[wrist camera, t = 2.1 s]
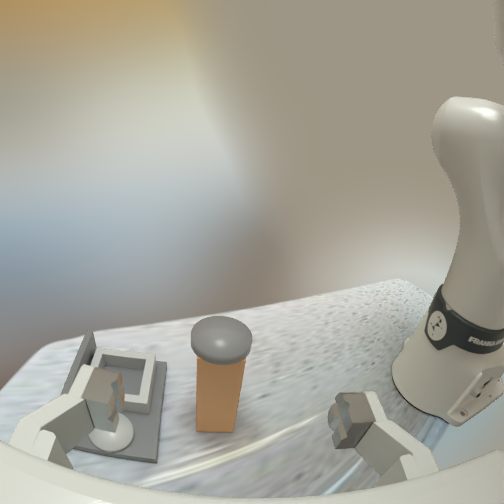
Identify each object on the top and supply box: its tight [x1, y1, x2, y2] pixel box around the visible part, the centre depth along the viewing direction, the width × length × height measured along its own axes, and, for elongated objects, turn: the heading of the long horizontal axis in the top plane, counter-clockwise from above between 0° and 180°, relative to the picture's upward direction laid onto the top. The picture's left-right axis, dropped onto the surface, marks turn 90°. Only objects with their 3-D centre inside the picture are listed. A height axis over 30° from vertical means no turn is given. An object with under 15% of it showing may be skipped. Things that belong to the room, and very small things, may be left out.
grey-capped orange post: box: [191, 316, 252, 432], centre depth 29 cm, size 5×5×13 cm
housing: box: [61, 331, 167, 463], centre depth 30 cm, size 10×14×5 cm
